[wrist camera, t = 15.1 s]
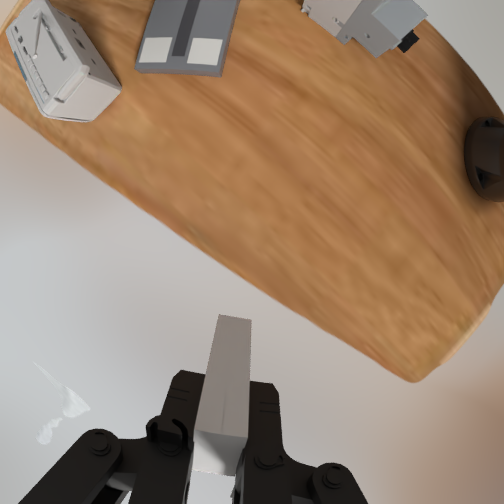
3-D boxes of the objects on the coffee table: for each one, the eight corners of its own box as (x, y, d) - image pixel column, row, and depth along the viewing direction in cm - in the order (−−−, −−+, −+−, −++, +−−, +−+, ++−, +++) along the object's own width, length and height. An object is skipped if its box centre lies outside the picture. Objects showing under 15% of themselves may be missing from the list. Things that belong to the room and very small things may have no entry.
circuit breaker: (375, 73, 33) (426, 42, 19) (300, 11, 30) (319, -46, 16) (400, 48, 31) (453, 16, 17) (330, -12, 29) (357, -65, 14)
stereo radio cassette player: (48, 49, 31) (-28, 24, 12) (81, 16, 29) (12, -25, 10) (92, 126, 36) (-2, 119, 17) (132, 90, 35) (49, 54, 16)
